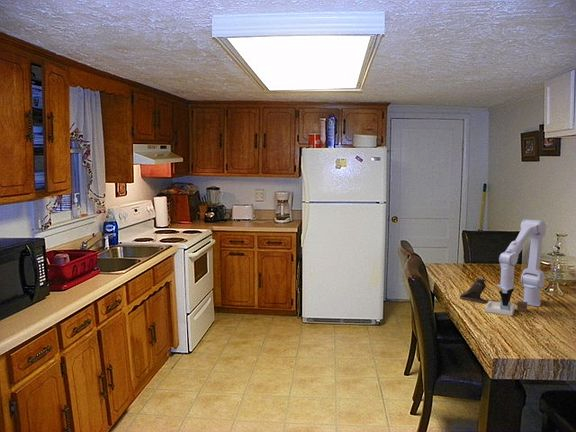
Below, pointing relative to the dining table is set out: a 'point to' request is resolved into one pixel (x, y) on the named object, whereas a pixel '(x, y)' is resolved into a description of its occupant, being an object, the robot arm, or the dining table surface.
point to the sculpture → (475, 292)
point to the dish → (495, 309)
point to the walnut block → (522, 306)
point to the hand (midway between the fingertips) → (506, 304)
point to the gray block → (505, 306)
